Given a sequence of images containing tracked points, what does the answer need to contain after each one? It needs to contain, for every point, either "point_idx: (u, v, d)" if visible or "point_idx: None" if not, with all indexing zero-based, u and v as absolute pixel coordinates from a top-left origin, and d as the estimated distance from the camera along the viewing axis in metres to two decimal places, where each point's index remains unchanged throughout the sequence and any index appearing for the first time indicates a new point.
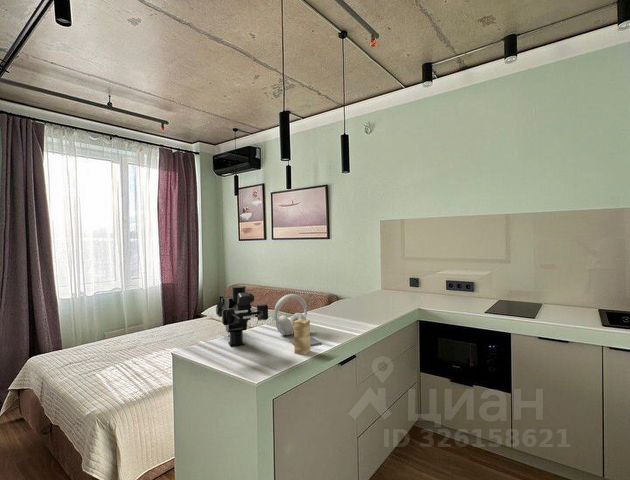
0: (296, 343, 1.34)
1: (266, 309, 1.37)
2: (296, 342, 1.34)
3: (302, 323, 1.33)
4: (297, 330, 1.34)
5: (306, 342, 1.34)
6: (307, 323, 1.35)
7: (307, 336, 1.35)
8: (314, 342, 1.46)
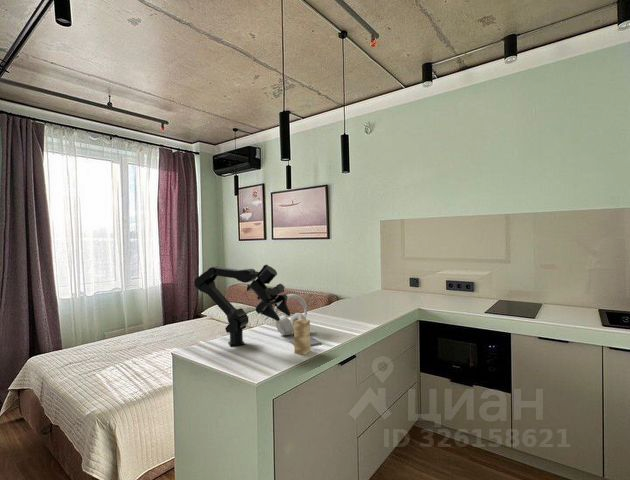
0: (296, 343, 1.34)
1: (284, 299, 1.49)
2: (296, 342, 1.34)
3: (302, 323, 1.33)
4: (297, 330, 1.34)
5: (306, 342, 1.34)
6: (307, 323, 1.35)
7: (307, 336, 1.35)
8: (314, 342, 1.46)
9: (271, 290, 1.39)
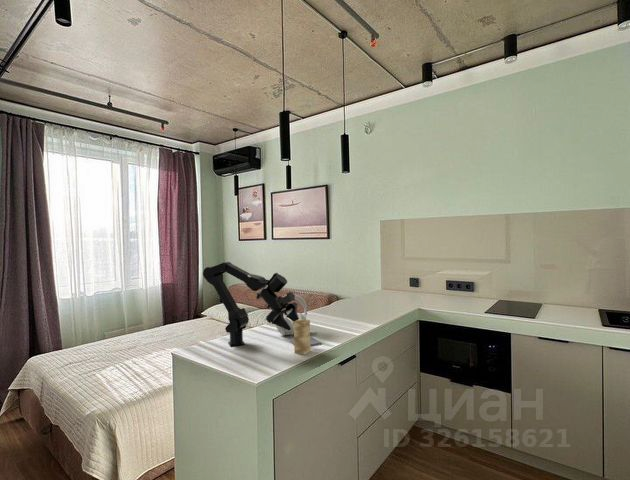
0: (296, 343, 1.34)
1: (294, 307, 1.47)
2: (296, 342, 1.34)
3: (302, 323, 1.33)
4: (297, 330, 1.34)
5: (306, 342, 1.34)
6: (307, 323, 1.35)
7: (307, 336, 1.35)
8: (314, 342, 1.46)
9: (282, 299, 1.37)
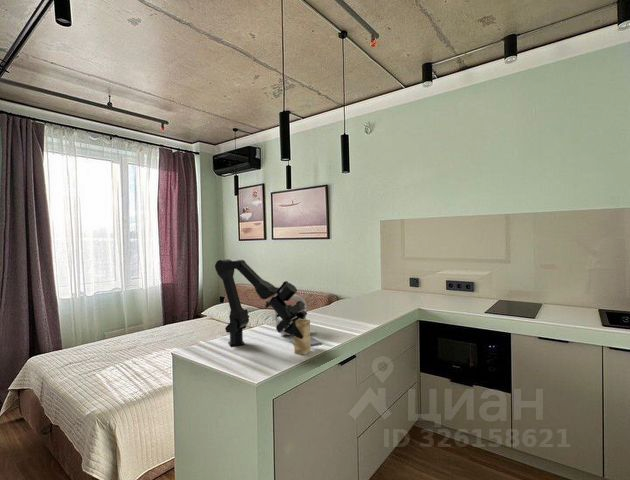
0: (296, 343, 1.34)
1: (304, 316, 1.45)
2: (296, 342, 1.34)
3: (302, 322, 1.33)
4: None
5: (306, 342, 1.34)
6: (307, 323, 1.35)
7: (307, 336, 1.35)
8: (314, 342, 1.46)
9: (291, 308, 1.35)
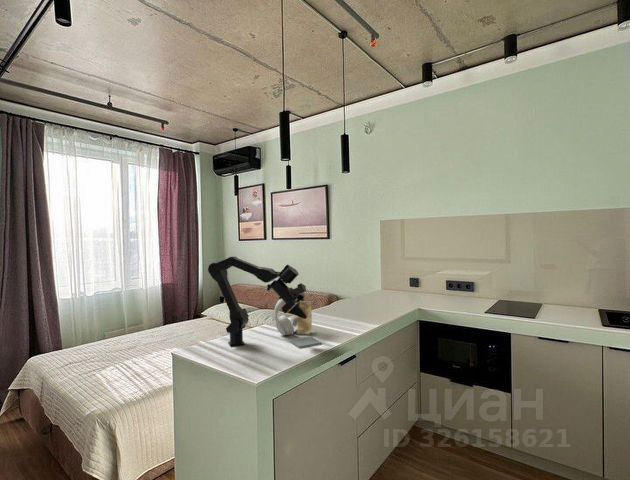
0: (299, 324, 1.40)
1: (302, 298, 1.51)
2: (299, 323, 1.40)
3: (306, 303, 1.39)
4: None
5: (309, 322, 1.40)
6: (310, 304, 1.41)
7: (310, 317, 1.41)
8: (314, 342, 1.46)
9: (295, 290, 1.40)
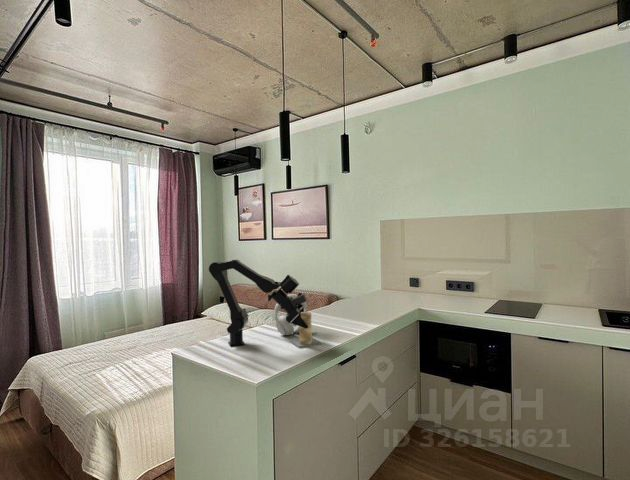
0: (301, 335, 1.44)
1: (300, 307, 1.55)
2: (301, 334, 1.44)
3: (308, 315, 1.44)
4: None
5: (310, 332, 1.45)
6: (310, 315, 1.46)
7: None
8: (314, 342, 1.46)
9: (296, 299, 1.44)
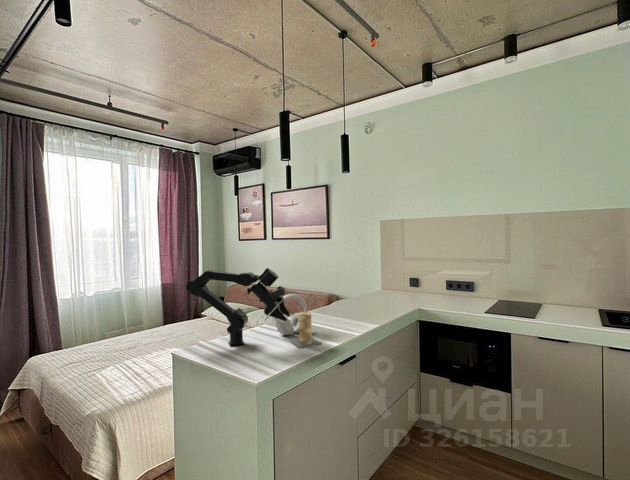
0: (301, 335, 1.44)
1: (281, 300, 1.56)
2: (301, 334, 1.44)
3: (308, 315, 1.44)
4: (303, 322, 1.44)
5: (310, 332, 1.45)
6: (310, 315, 1.46)
7: None
8: (314, 342, 1.46)
9: (275, 292, 1.45)
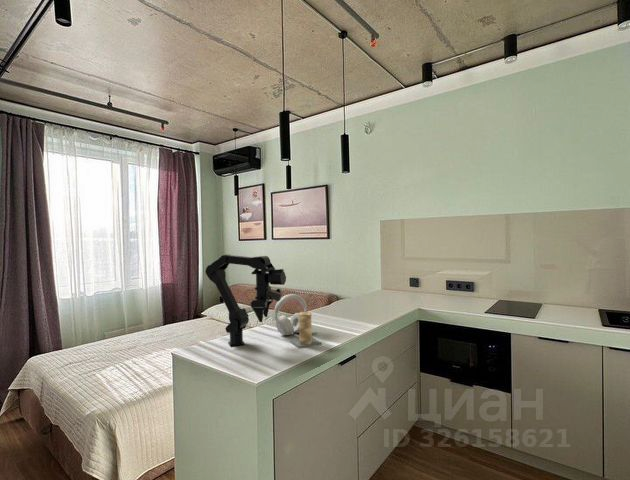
0: (301, 335, 1.44)
1: (270, 298, 1.53)
2: (301, 334, 1.44)
3: (308, 315, 1.44)
4: (303, 322, 1.44)
5: (310, 332, 1.45)
6: (310, 315, 1.46)
7: None
8: (314, 342, 1.46)
9: (273, 293, 1.41)
